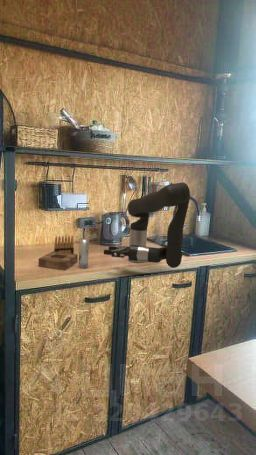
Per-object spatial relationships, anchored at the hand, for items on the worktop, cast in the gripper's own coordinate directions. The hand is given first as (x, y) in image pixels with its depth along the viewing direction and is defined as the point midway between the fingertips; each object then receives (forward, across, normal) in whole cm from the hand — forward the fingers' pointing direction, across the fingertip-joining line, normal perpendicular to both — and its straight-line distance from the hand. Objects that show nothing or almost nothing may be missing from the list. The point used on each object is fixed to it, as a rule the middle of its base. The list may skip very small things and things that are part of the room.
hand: (106, 250), depth 178 cm
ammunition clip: (+28, -14, +10) cm, 33 cm away
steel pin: (+12, 0, +10) cm, 15 cm away
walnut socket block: (+24, 0, +10) cm, 26 cm away
